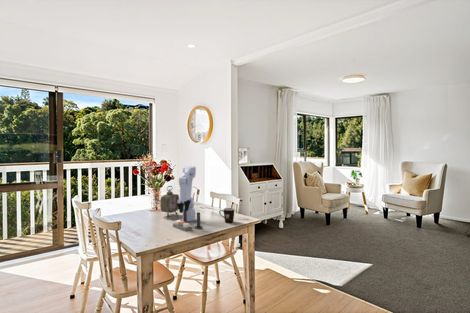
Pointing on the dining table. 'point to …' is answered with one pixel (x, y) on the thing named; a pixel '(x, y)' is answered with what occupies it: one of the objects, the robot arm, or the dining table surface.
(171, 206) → the tabletop clock
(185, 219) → the cord post left
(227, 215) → the coffee mug
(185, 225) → the breaker panel
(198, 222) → the cord post right
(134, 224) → the dining table surface
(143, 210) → the dining table surface
